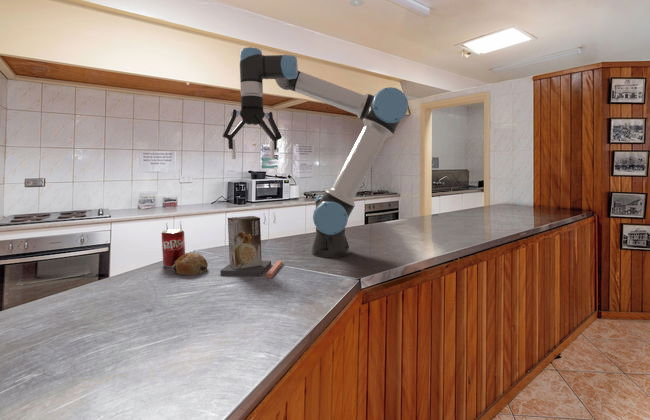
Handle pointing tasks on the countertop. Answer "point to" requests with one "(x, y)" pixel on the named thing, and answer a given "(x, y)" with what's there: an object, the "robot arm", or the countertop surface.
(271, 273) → the pink bar
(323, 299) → the countertop surface
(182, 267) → the bread roll
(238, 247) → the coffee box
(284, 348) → the countertop surface
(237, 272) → the mat
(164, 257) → the soda can
